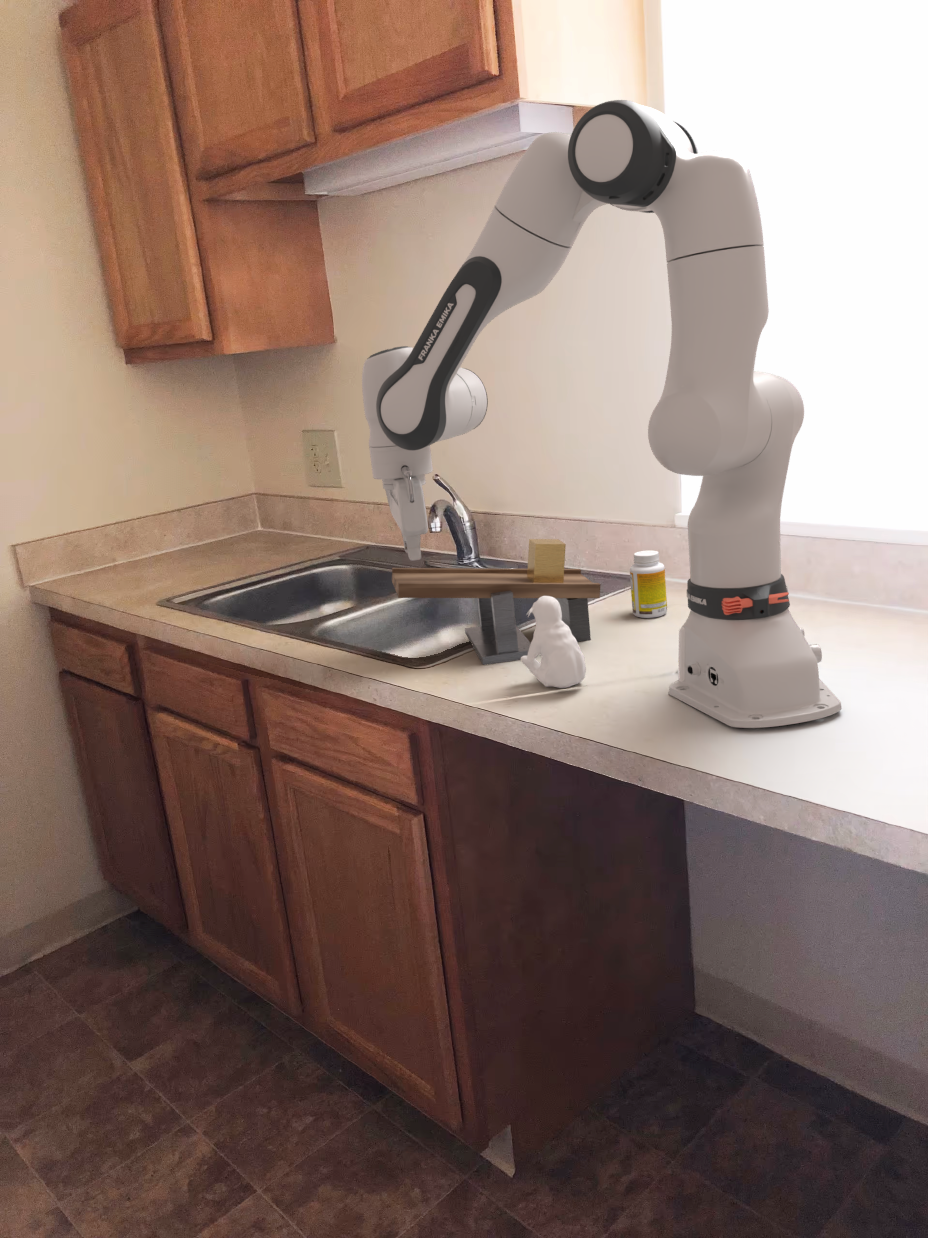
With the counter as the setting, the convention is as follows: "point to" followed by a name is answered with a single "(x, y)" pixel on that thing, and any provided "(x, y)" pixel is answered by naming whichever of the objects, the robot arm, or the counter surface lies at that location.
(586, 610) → the trestle
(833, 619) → the counter surface
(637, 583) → the supplement bottle
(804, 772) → the counter surface
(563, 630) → the white seated figurine
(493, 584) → the beam
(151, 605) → the counter surface
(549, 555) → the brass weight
